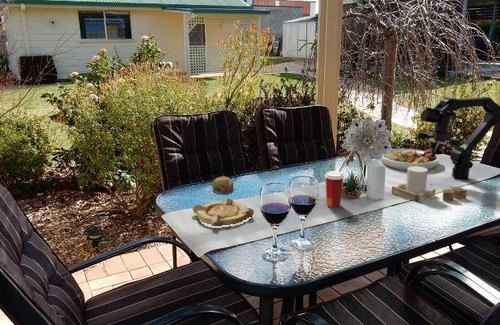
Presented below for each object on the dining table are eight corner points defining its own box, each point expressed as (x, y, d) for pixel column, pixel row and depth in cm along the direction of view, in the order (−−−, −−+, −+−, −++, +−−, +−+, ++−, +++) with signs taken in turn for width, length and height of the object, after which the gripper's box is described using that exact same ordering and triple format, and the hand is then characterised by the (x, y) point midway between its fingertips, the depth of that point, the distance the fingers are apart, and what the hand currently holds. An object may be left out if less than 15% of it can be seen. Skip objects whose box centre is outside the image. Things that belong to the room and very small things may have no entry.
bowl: (397, 174, 216) (398, 159, 214) (370, 159, 244) (370, 145, 242) (450, 170, 222) (451, 155, 219) (417, 155, 250) (418, 142, 248)
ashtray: (194, 232, 156) (193, 220, 155) (192, 208, 179) (191, 197, 178) (257, 227, 160) (257, 215, 158) (248, 204, 182) (247, 193, 181)
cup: (416, 190, 192) (418, 165, 189) (429, 196, 185) (431, 170, 182) (401, 193, 190) (403, 167, 187) (413, 199, 183) (416, 172, 179)
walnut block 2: (459, 196, 185) (460, 187, 184) (465, 199, 182) (466, 190, 181) (451, 196, 185) (452, 188, 184) (457, 200, 181) (458, 191, 180)
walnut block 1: (452, 198, 182) (453, 190, 181) (453, 202, 179) (454, 193, 178) (442, 197, 184) (443, 189, 183) (442, 201, 180) (443, 192, 179)
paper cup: (344, 203, 180) (346, 171, 176) (340, 209, 173) (341, 177, 169) (326, 200, 183) (327, 169, 179) (321, 207, 176) (322, 175, 172)
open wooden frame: (408, 187, 197) (409, 181, 196) (434, 195, 186) (435, 189, 185) (391, 193, 190) (391, 186, 189) (417, 201, 180) (418, 195, 179)
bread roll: (211, 197, 200) (207, 185, 195) (219, 182, 207) (215, 170, 202) (230, 199, 197) (226, 187, 192) (238, 184, 204) (234, 172, 199)
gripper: (422, 122, 194) (413, 154, 198) (466, 131, 189) (456, 164, 193) (421, 119, 205) (412, 150, 209) (462, 128, 200) (452, 159, 204)
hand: (433, 156), depth 203 cm, fingers closed
